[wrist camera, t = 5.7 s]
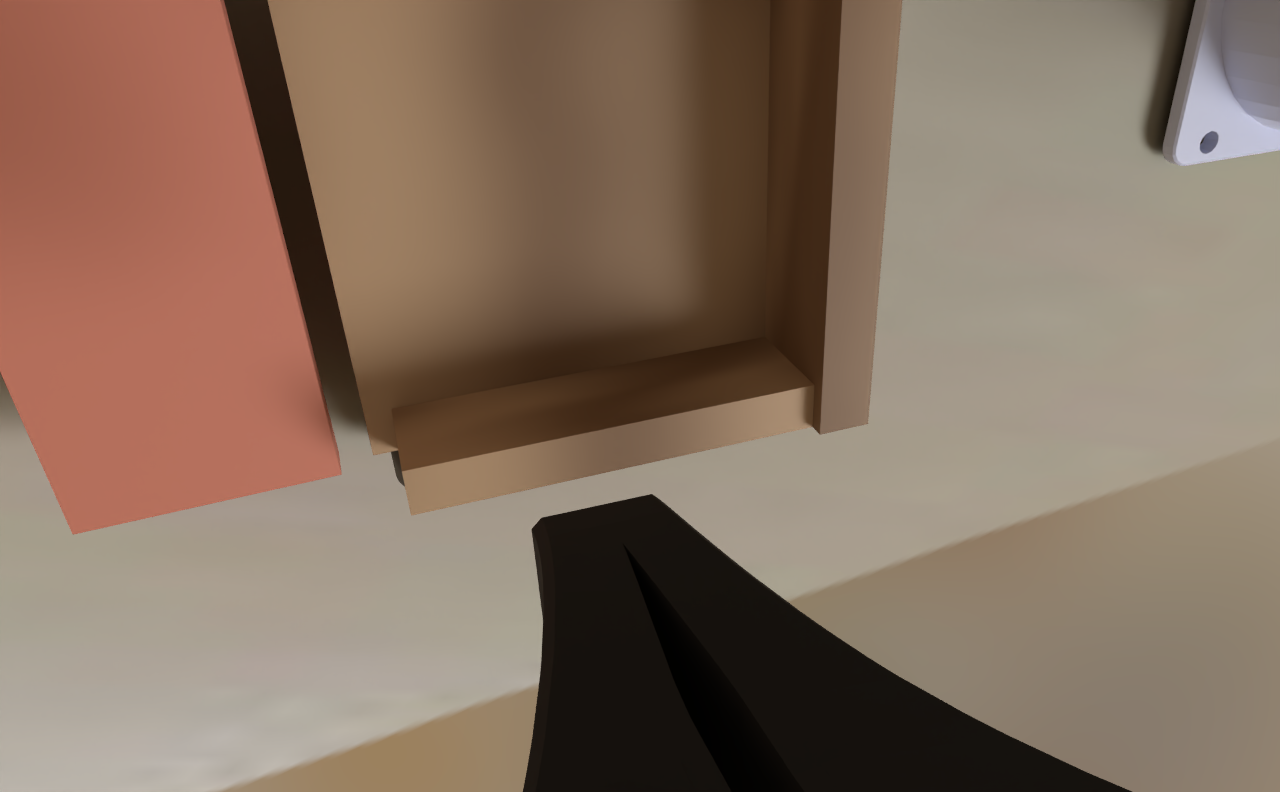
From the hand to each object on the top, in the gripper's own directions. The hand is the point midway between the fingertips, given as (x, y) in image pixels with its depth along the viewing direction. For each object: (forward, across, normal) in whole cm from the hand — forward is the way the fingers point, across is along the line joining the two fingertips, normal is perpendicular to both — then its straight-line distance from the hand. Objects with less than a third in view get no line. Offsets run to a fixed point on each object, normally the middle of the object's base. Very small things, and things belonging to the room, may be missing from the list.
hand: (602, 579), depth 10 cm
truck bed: (+10, -2, -2) cm, 10 cm away
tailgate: (+8, +3, -2) cm, 9 cm away
